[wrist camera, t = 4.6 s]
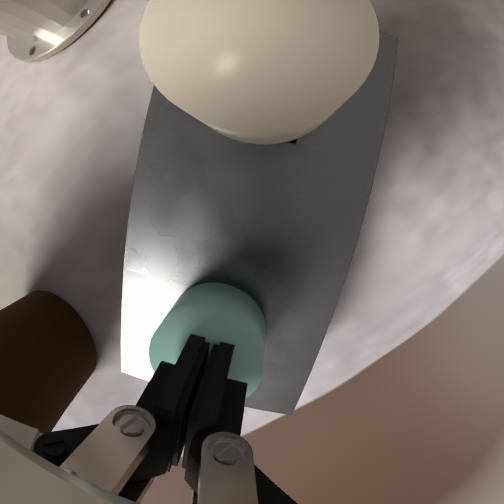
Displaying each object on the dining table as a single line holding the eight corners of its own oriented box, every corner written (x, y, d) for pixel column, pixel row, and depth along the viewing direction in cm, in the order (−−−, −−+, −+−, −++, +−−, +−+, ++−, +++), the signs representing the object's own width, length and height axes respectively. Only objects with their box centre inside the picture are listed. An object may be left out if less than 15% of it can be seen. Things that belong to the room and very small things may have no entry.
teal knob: (206, 240, 19) (152, 299, 10) (276, 256, 19) (276, 330, 10) (195, 303, 20) (147, 389, 11) (259, 318, 20) (248, 416, 11)
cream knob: (231, 59, 12) (178, -60, 3) (324, 78, 12) (386, -30, 3) (210, 145, 13) (113, 112, 5) (304, 165, 13) (358, 158, 5)
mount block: (209, 40, 16) (183, -4, 10) (363, 73, 16) (398, 38, 10) (155, 324, 21) (121, 371, 15) (288, 357, 21) (291, 414, 15)
